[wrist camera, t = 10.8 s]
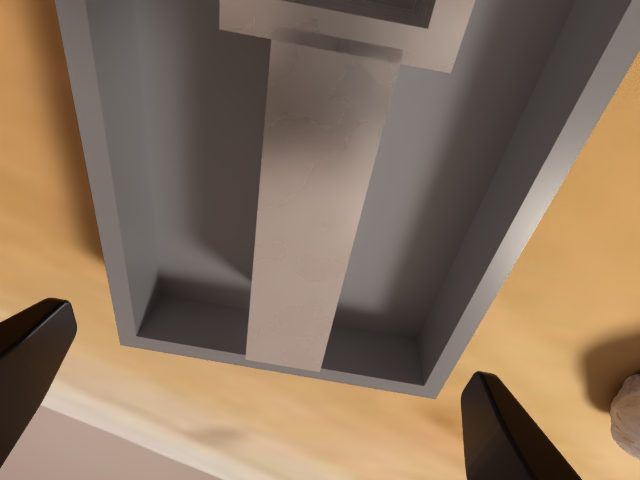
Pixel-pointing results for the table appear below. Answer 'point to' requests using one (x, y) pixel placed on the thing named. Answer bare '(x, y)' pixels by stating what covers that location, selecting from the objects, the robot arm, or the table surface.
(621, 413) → the pebble
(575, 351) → the table surface
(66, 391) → the table surface
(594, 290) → the table surface
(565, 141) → the tray
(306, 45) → the square nut with handle
